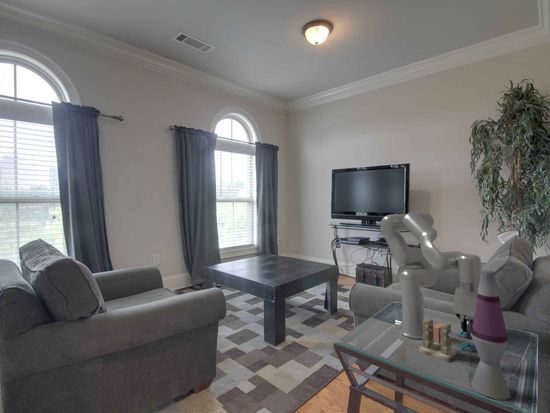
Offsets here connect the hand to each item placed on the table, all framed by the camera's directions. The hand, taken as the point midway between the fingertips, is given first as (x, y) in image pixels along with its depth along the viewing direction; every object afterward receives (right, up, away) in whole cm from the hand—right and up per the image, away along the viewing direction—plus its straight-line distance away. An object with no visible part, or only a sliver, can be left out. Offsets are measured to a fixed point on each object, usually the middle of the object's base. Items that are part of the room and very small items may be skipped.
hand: (470, 332), depth 114 cm
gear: (+7, -12, +10) cm, 18 cm away
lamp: (-4, -12, -16) cm, 21 cm away
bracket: (-8, -12, +9) cm, 17 cm away
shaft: (-5, -5, +6) cm, 9 cm away
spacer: (-7, -7, +9) cm, 13 cm away
